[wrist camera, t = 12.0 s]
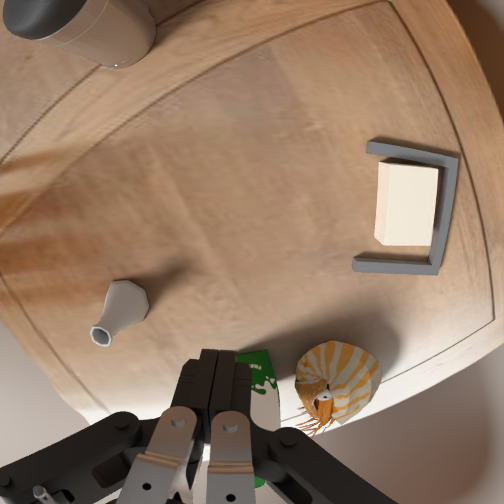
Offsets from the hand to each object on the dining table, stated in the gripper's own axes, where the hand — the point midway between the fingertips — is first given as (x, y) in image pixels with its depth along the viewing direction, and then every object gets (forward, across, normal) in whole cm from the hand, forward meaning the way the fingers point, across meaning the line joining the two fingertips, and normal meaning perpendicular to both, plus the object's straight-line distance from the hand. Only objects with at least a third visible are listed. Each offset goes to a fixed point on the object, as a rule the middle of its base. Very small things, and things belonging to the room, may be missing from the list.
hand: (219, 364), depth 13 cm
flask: (+29, +18, +14) cm, 37 cm away
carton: (+29, -20, -3) cm, 35 cm away
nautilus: (+28, -13, +28) cm, 42 cm away
